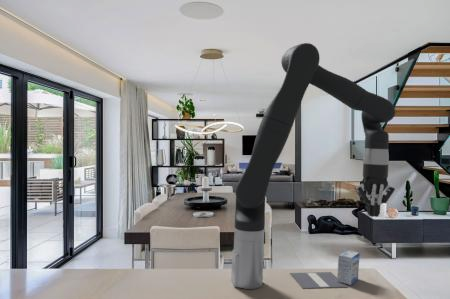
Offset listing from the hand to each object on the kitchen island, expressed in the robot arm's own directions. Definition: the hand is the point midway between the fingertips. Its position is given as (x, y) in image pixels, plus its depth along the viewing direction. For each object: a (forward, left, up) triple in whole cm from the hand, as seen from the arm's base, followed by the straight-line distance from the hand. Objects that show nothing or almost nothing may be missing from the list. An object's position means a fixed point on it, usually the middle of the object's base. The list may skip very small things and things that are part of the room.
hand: (373, 216), depth 114 cm
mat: (-18, +1, -21) cm, 28 cm away
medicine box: (-8, 0, -21) cm, 23 cm away
